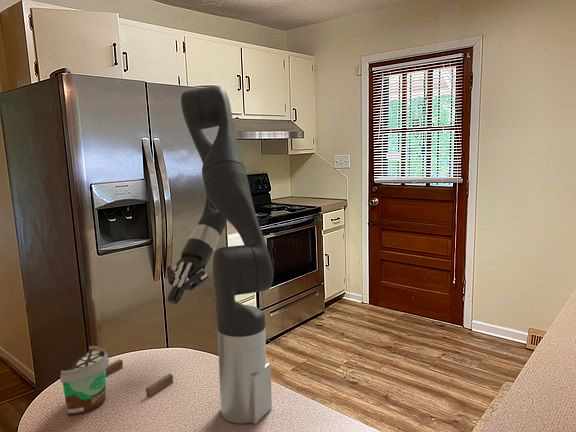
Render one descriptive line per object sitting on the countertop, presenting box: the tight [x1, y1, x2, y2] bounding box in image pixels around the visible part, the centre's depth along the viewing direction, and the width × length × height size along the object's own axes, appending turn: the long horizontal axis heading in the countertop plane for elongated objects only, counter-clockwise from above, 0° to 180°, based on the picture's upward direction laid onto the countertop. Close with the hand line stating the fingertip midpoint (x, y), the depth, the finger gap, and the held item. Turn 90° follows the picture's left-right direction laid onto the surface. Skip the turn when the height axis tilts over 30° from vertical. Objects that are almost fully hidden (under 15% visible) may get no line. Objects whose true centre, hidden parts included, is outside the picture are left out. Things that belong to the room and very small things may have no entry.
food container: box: [59, 345, 110, 418], centre depth 90 cm, size 12×6×10 cm, turn 178°
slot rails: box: [106, 359, 174, 399], centre depth 99 cm, size 17×7×2 cm, turn 62°
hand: (172, 302), depth 109 cm, fingers closed
